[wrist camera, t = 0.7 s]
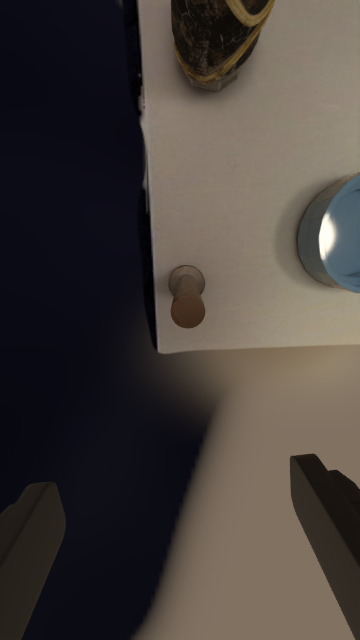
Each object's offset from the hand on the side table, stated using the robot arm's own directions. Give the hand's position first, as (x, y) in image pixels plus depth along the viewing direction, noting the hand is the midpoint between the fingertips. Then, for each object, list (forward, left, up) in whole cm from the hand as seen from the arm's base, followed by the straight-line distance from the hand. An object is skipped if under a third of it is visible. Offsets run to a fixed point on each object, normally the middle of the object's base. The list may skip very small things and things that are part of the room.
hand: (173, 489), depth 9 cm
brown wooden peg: (-3, +1, -26) cm, 26 cm away
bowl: (-4, +21, -26) cm, 34 cm away
